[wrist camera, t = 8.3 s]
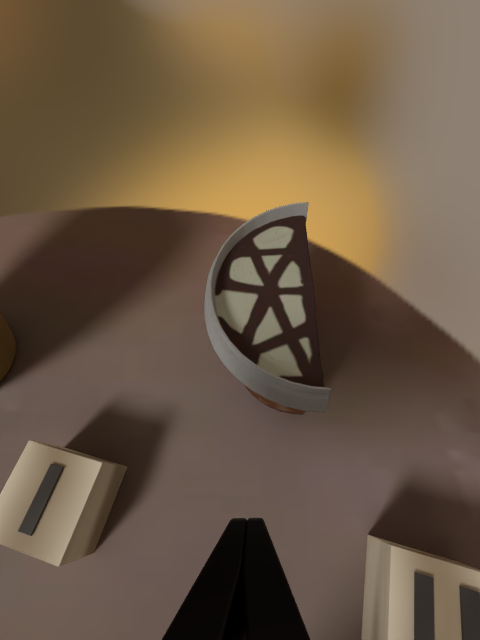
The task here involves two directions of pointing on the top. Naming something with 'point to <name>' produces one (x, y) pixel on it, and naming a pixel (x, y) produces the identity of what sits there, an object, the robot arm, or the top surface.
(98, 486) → the numbered tile one
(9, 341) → the plant pot
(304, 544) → the top surface
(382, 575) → the numbered tile two
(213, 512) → the top surface
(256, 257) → the food container
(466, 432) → the top surface
